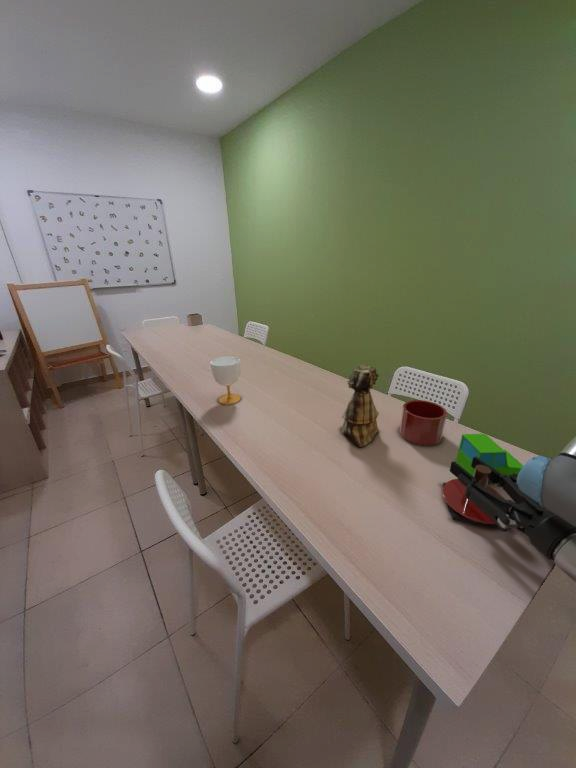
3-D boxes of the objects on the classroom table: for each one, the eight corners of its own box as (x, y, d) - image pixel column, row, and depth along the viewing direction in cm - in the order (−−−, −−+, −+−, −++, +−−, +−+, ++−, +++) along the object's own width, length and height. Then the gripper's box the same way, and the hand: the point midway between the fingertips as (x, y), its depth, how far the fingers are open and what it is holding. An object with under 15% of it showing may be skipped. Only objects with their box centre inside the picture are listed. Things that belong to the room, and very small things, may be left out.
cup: (231, 391, 133) (227, 354, 126) (249, 398, 126) (246, 360, 119) (209, 400, 125) (204, 362, 118) (227, 408, 118) (222, 368, 111)
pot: (437, 427, 102) (442, 402, 98) (445, 448, 91) (451, 421, 87) (398, 422, 105) (401, 398, 101) (401, 443, 94) (405, 416, 90)
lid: (495, 487, 74) (506, 454, 70) (519, 531, 62) (532, 496, 59) (437, 478, 78) (444, 447, 74) (448, 519, 66) (457, 484, 62)
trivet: (491, 492, 74) (492, 489, 74) (509, 529, 64) (510, 525, 64) (442, 485, 77) (443, 482, 76) (452, 519, 67) (453, 516, 66)
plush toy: (323, 432, 99) (343, 365, 86) (342, 416, 109) (362, 354, 97) (362, 454, 92) (389, 385, 80) (378, 435, 103) (404, 371, 90)
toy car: (526, 486, 76) (538, 453, 72) (474, 487, 76) (483, 455, 72) (499, 460, 85) (509, 430, 81) (453, 462, 85) (460, 432, 81)
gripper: (519, 576, 51) (427, 483, 71) (599, 548, 55) (490, 468, 75) (533, 545, 48) (432, 458, 68) (616, 518, 52) (497, 444, 72)
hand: (462, 463), depth 72 cm, fingers open, 5 cm apart
